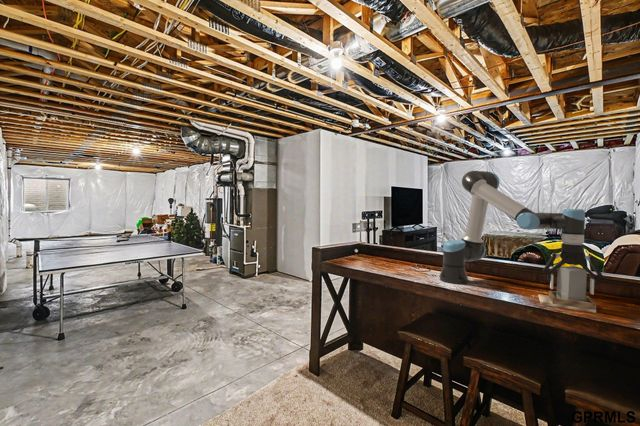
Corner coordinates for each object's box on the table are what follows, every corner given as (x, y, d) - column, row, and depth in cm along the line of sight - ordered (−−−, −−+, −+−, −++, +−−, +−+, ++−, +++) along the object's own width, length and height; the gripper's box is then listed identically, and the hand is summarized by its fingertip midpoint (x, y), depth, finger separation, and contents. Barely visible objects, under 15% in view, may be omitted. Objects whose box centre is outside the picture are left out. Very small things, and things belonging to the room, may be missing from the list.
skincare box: (572, 299, 131) (573, 265, 130) (587, 305, 124) (588, 269, 123) (554, 299, 130) (555, 265, 130) (568, 305, 123) (569, 269, 123)
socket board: (541, 304, 128) (541, 296, 127) (538, 296, 138) (538, 289, 138) (595, 312, 118) (596, 304, 118) (588, 303, 129) (588, 295, 129)
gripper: (538, 242, 130) (536, 288, 130) (614, 247, 116) (612, 298, 117) (536, 240, 136) (535, 284, 137) (608, 245, 123) (607, 293, 123)
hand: (571, 291), depth 127 cm, fingers open, 13 cm apart
